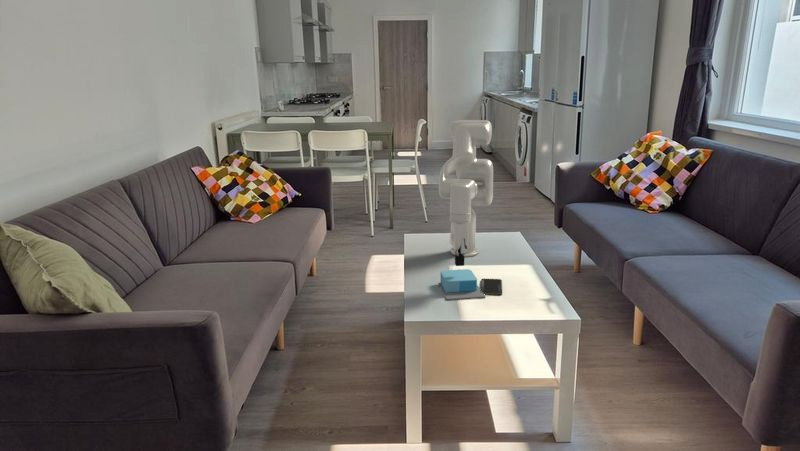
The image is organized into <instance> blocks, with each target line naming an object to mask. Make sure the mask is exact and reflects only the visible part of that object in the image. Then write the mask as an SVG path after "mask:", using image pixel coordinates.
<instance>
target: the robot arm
mask: <svg viewBox="0 0 800 451" xmlns="http://www.w3.org/2000/svg"><path fill="white" fill-rule="evenodd" d="M448 127H449V128H448V129H449V134H450V137H451V140H452V142H453V145H452V156H451V157H450V158H449V159H448V160H446V162H444V164H443V165H442V167H441V169H440V172H439V176H438V178H439V179H438V194H439V196H440V198H442V199H445V200H449V222H450V235H449V236H450V238H449V242H450V245H451V246H452V247H451V249H450V254H451V255H454V265H455V266H456V267H464V266H465V257H474V256H476V255H478V254H479V249H478V248H477V247H476V229H477V227H476V226H477V223H476V222H477V218H476V217H477V216H476V215H477V214H476V212H475V210H474V209H473V207H472V206H489V205H491V204H492V202H493V199H494V165H493V162H492V161H491V160H490V159H488V158H477V147H476V146H488V145H489V144H490V143H491V141H492V134H493V127H492V122H490V120H488V119H486V120H484V119H481V120H480V119H472V120H471V119H461V120H460V119H459V120H454V121H451V122H450V124H449V126H448ZM453 172H455V174H456V177H457V178H448V176H449V175H451V173H453ZM477 182H481V183H477Z"/></svg>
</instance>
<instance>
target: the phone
mask: <svg viewBox="0 0 800 451" xmlns="http://www.w3.org/2000/svg"><path fill="white" fill-rule="evenodd" d="M480 279H481V278H480ZM502 281H503V280H502V279H501V278H482V279H481V280H480V290H481V291H482V292H481V293H483V294H485V296H500V297H501V296H503V282H502Z"/></svg>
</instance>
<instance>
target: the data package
mask: <svg viewBox="0 0 800 451" xmlns="http://www.w3.org/2000/svg"><path fill="white" fill-rule="evenodd" d="M440 283H441V284H442V286H443V289H444V291H445V292H448V293H452V292H471V291H476V290H477V285H478V278H477V276H476V275H475V274H474V272H473V270H471V269H468V268H467V269H464V268H463V269H447V270H446V269H445V270H441V271H440Z"/></svg>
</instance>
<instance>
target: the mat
mask: <svg viewBox="0 0 800 451" xmlns="http://www.w3.org/2000/svg"><path fill="white" fill-rule="evenodd" d="M437 283H438V286H439V288H440V290H441V292H442V294H443V296H444V298H445V299H447V300H446V301H459V300H460V299H461V301H463V300H472V299H471V298H478V299H486V295H484V294H483V293H481V292H482V291H481V287H479V285H478V284H477V290H476V291H471V292H452V293H448V292H445V291H444V289H443V286H442V284H441V282H437Z"/></svg>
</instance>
